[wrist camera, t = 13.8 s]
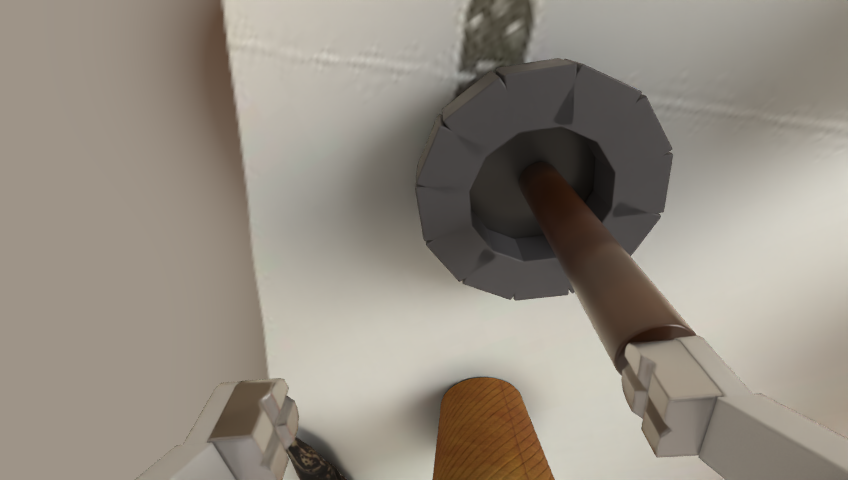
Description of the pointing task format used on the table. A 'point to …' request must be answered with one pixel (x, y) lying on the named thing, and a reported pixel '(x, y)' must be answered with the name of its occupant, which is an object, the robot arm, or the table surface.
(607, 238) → the tape post
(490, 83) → the grey stone ring
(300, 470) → the statue
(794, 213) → the table surface
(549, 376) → the table surface
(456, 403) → the disposable coffee cup
